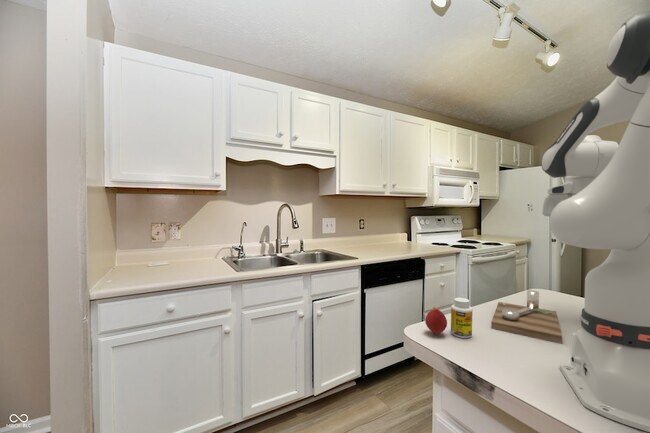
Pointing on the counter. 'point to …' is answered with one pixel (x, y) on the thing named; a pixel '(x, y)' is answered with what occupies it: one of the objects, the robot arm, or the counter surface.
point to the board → (529, 323)
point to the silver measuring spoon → (531, 306)
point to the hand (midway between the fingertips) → (581, 231)
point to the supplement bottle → (461, 318)
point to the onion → (436, 321)
